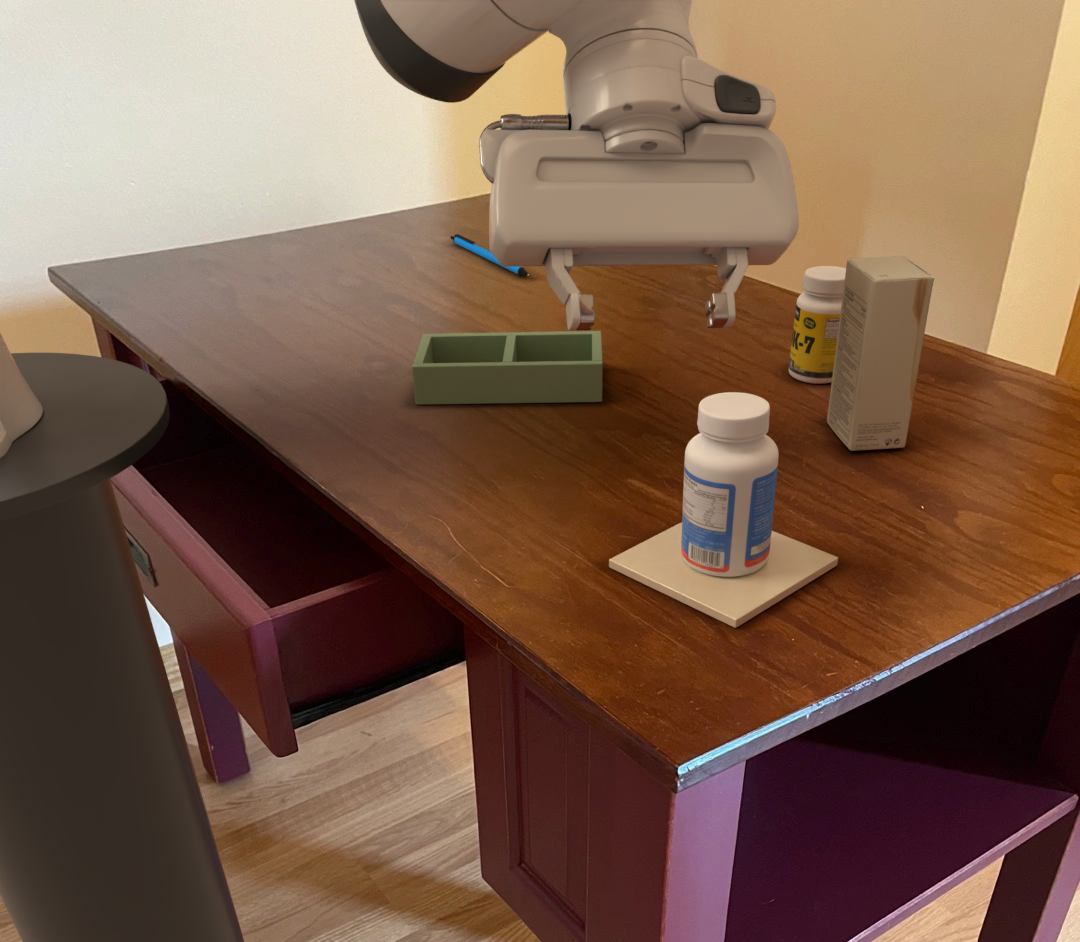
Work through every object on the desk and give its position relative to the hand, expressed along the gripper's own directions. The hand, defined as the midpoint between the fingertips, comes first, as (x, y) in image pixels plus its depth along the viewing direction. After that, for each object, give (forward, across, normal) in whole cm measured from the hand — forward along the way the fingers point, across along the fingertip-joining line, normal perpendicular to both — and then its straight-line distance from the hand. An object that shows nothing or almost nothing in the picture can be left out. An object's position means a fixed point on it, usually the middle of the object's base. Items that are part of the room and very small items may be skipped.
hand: (652, 326), depth 70 cm
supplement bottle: (-3, +20, +19) cm, 28 cm away
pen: (-29, -2, +53) cm, 61 cm away
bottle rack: (-4, -6, +23) cm, 24 cm away
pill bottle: (+16, +2, -4) cm, 17 cm away
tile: (+16, +2, -3) cm, 17 cm away
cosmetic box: (+5, +19, +9) cm, 21 cm away
